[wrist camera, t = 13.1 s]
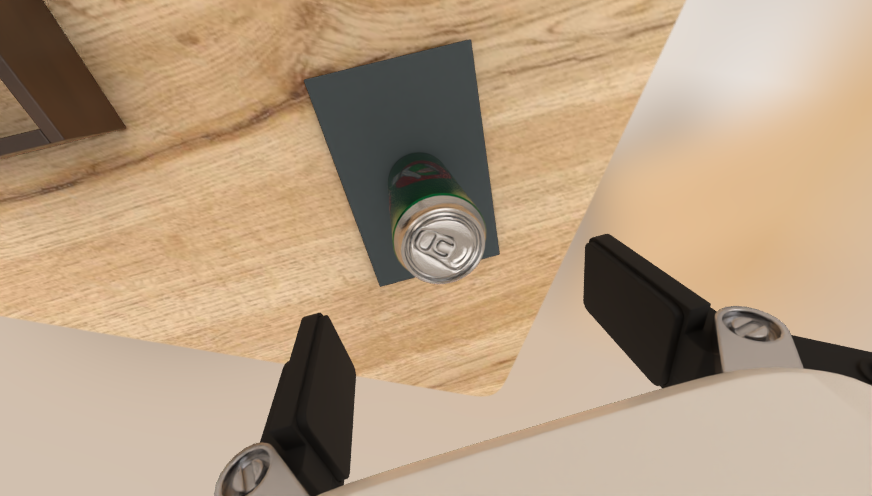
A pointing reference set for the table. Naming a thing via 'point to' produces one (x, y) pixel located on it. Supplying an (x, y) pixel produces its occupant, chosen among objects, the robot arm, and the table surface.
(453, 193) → the soda can
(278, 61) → the table surface
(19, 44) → the frame
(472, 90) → the mat
